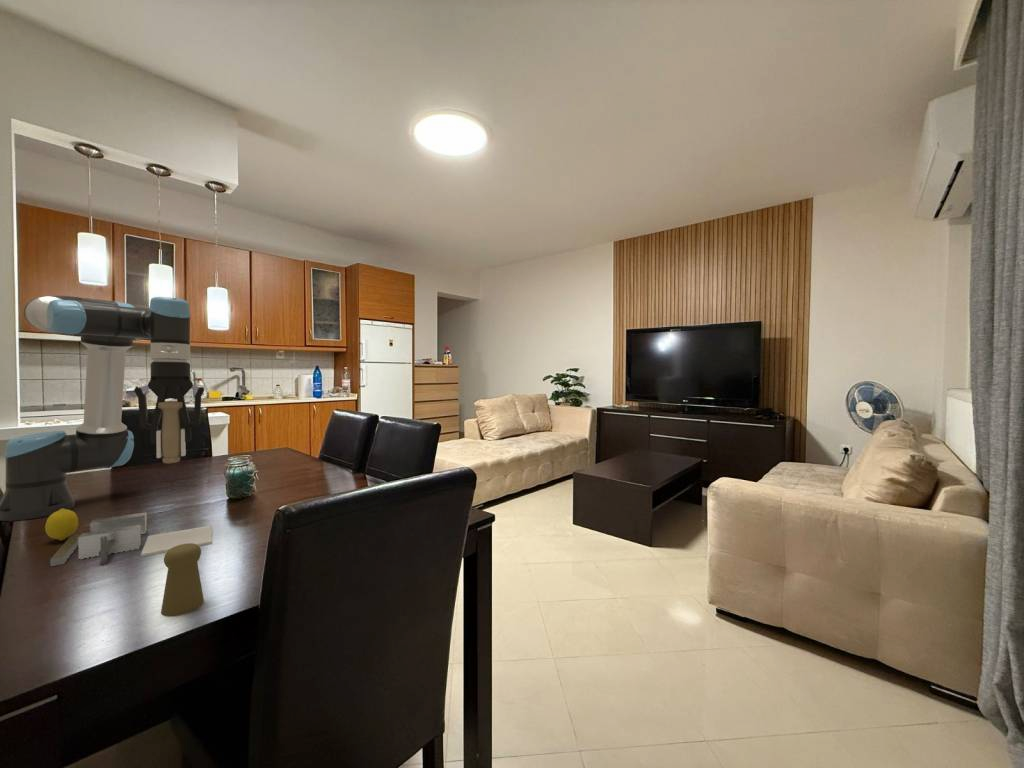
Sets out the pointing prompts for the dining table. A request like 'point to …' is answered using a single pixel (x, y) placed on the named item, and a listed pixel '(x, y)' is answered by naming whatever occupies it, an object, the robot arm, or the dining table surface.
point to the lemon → (61, 524)
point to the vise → (104, 538)
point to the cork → (182, 580)
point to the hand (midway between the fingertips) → (171, 455)
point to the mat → (177, 540)
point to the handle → (170, 431)
